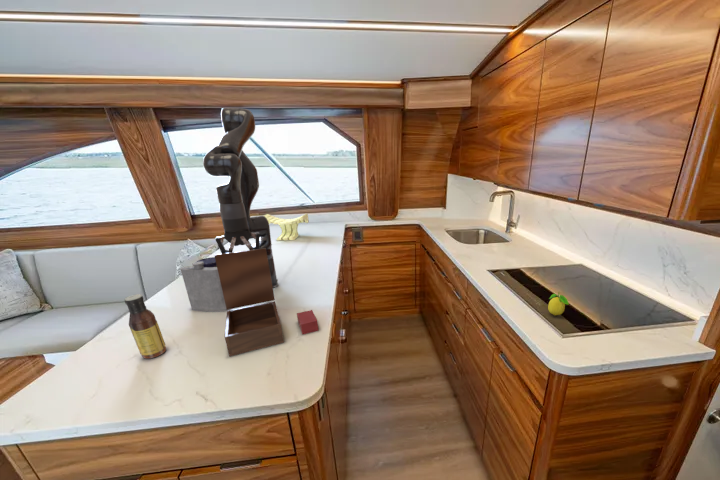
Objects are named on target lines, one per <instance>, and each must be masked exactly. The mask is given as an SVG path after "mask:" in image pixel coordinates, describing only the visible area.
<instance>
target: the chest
mask: <svg viewBox="0 0 720 480" xmlns="http://www.w3.org/2000/svg"><path fill="white" fill-rule="evenodd" d="M225 320H226V321H225V327H224V340H225V344H226V349H227V352H228V356H229V357H233V356H237V355H241V354H245V353H248V352H253V351H257V350H261V349H265V348H268V347H271V346H276V345H279V344H285V340H284V335H283V334H284V333H283V329H282V323H281V320H280V315H279V311H278V307H277V303H276V300H274V301H269V302H264V303H259V304H254V305H249V306H243V307H238V308H233V309H229V310H226V317H225Z"/></svg>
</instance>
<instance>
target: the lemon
mask: <svg viewBox="0 0 720 480" xmlns="http://www.w3.org/2000/svg"><path fill="white" fill-rule="evenodd" d="M548 300H549V302H548V304H547V310H548V312H549V313H550V314H551V315H553V317H554V316H555V317H557V316H560V315H562V314H563V313H564V312H565V309H566V305H569V300H568V298H567V297H566V296H565V295H563V294H560V292H558V294H557V293H552V294H551V295H550V297H549V298H548Z"/></svg>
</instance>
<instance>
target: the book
mask: <svg viewBox="0 0 720 480" xmlns="http://www.w3.org/2000/svg"><path fill="white" fill-rule="evenodd" d="M296 317H297V323H298V327H299V329H300V332H301V334H302V335H303V336H304V335H306V334H311V333H314V332H317V331H318V332H319V321H318V318H317V317H316V315H315V313H314V311H313V309H309V310H306V311H305V310H304V311H301V312H298V313H296Z"/></svg>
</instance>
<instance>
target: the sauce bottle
mask: <svg viewBox="0 0 720 480" xmlns="http://www.w3.org/2000/svg"><path fill="white" fill-rule="evenodd" d="M123 301H124V303H125V305H126V306H127V308H128V312H129V318H128V327H129V329H130V332H131V334H132V337H133V340H134V341H135V344H136V346H137V349H138V351H139V353H140V355H141V357H142V358H144V359H146V360H147V359H148V360H149V359H155V358H157V357H160V356H161V355H162V354H164V353H165V352H166V351H167V345H166V341H165V338H164V336H163V334H162V331H161V328H160V326H159V323H158V321H157V319H156V316H155V313H153V312H152V310H150V309H148V308H147V306H146V303H145V301H144V296H143V294H141V293H138V294H133V295H130V296H127V297H125V298H124V300H123Z"/></svg>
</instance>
